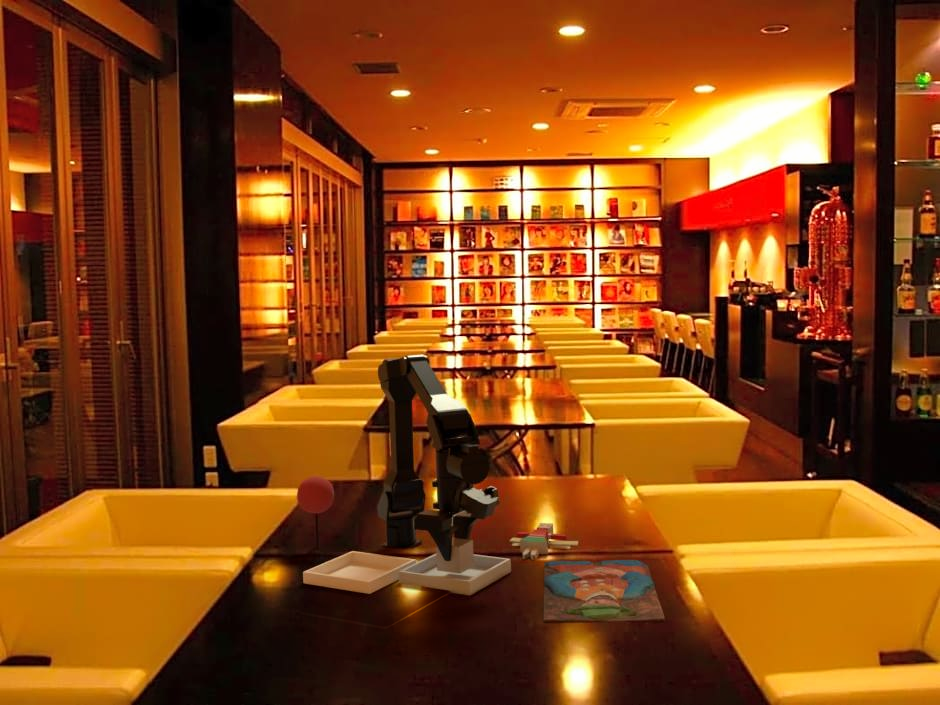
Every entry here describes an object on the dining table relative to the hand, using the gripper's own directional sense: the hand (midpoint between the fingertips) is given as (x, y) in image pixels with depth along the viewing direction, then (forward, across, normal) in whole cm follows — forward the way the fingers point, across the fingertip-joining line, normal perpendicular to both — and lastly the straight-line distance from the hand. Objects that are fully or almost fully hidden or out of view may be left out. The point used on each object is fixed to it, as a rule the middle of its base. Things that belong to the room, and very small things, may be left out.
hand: (454, 557), depth 190 cm
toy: (+5, +23, -5) cm, 24 cm away
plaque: (+5, +3, -28) cm, 28 cm away
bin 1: (+4, -8, +16) cm, 18 cm away
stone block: (+2, 0, 0) cm, 2 cm away
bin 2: (+4, 0, 0) cm, 4 cm away
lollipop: (+4, +7, +38) cm, 39 cm away
